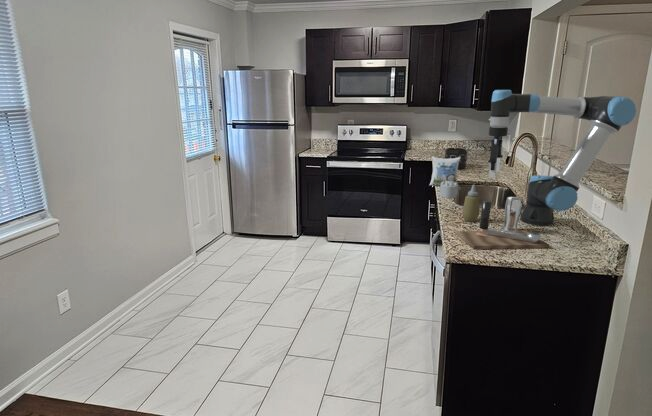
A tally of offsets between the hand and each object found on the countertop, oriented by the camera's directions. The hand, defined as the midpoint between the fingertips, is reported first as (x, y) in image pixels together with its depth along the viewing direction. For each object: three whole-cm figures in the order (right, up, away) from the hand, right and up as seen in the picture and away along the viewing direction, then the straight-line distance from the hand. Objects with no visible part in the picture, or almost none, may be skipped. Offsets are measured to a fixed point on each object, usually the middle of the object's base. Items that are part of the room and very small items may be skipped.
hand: (494, 174), depth 188 cm
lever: (+3, -27, -8) cm, 29 cm away
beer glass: (+10, -25, +7) cm, 28 cm away
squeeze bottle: (-4, -21, +20) cm, 30 cm away
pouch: (+4, 0, +94) cm, 94 cm away
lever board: (0, -29, -8) cm, 30 cm away
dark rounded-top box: (+32, +18, +159) cm, 164 cm away
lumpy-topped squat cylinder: (-1, -8, +68) cm, 68 cm away
